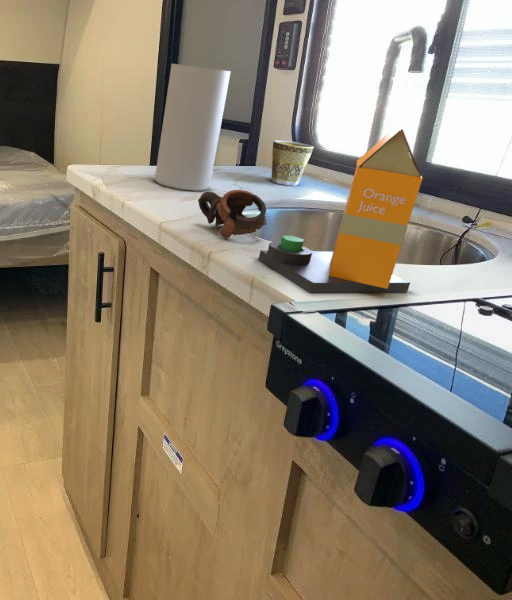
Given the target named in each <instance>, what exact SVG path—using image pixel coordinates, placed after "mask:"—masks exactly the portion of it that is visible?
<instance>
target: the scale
mask: <svg viewBox="0 0 512 600" xmlns="http://www.w3.org/2000/svg"><path fill="white" fill-rule="evenodd" d="M280 243H281V240H280V241H279V240H278V241H277V240H276V241H271V242H269V244H268V247H267V250H266V249H265V250H264V249H263V250H262V249H261V250H260V251H259V255H258V260H259V261H260V262H262V263H263V264H265V265H267V266H268V267H270V268H271V269H273V270H274V271H276V272H278V273H279V274H281V275H282V276H283V277H285V278H287V279H288V280H289V281H291V282H293V283H294V284H296V285H298V286H299V287H300V288H302V289H303V290H305V291H307V292H308V293H310V294H320V293H321V294H322V293H324V294H325V293H327V294H329V293H330V294H331V293H333V294H334V293H336V294H337V293H339V294H340V293H408V291H409V288H410V285H411V282H410V281H408V280H405V279H404V278H402V277H400V276H398V275H395V274H393V273H392V277H391V280H390V283H389V286H388V289H386V288H382V287H377V286H373V285H368V284H363V283H359V282H354V281H350V280H345V279H341V278H336V277H332V276H329V270H330V264H331V258H332V255H333V251H317V250H315V251H314V250H311V248H308V247H306V246H304V245H302V249H301V252H293V251H288V250H284V249H281V248H280Z"/></svg>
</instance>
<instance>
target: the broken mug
mask: <svg viewBox="0 0 512 600" xmlns="http://www.w3.org/2000/svg"><path fill="white" fill-rule="evenodd" d="M197 202H198V206H199V210H200V212H201V213H202V214H203V216H205V217H206V220H207V223H208V224H210V225H211V224H213V223H214V222H215V224H214V225H215V227H218V226H221V228H220V229H219V235H220V236H221V237H222V238H224V239H225V240H227V239H229V238H231V237H232V236H240V235H246V234H253V233H256V232H257V230H261V229H262V227H263V226H266V225H267V218H266V217H267V216H266V214H267V207H266V204H265V201H264V200H263V199H262V198H261V197H259V196H258V195H257V194H254V193H253V192H250V191H248V190H242V189H233V190H229V191H227V192H226V193H225V194H223V196H220V195H218V194H217V193H216V192H213V191H204V192H203V193H202V194H201V195H200V197H199V198H198V200H197ZM252 205H255V206H256V207H257V210H258V211H259V214H257V215H256V216H252V217H247V216H246V215H245V214H243V211H244V210H245V209H246V208H247V207H252Z"/></svg>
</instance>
